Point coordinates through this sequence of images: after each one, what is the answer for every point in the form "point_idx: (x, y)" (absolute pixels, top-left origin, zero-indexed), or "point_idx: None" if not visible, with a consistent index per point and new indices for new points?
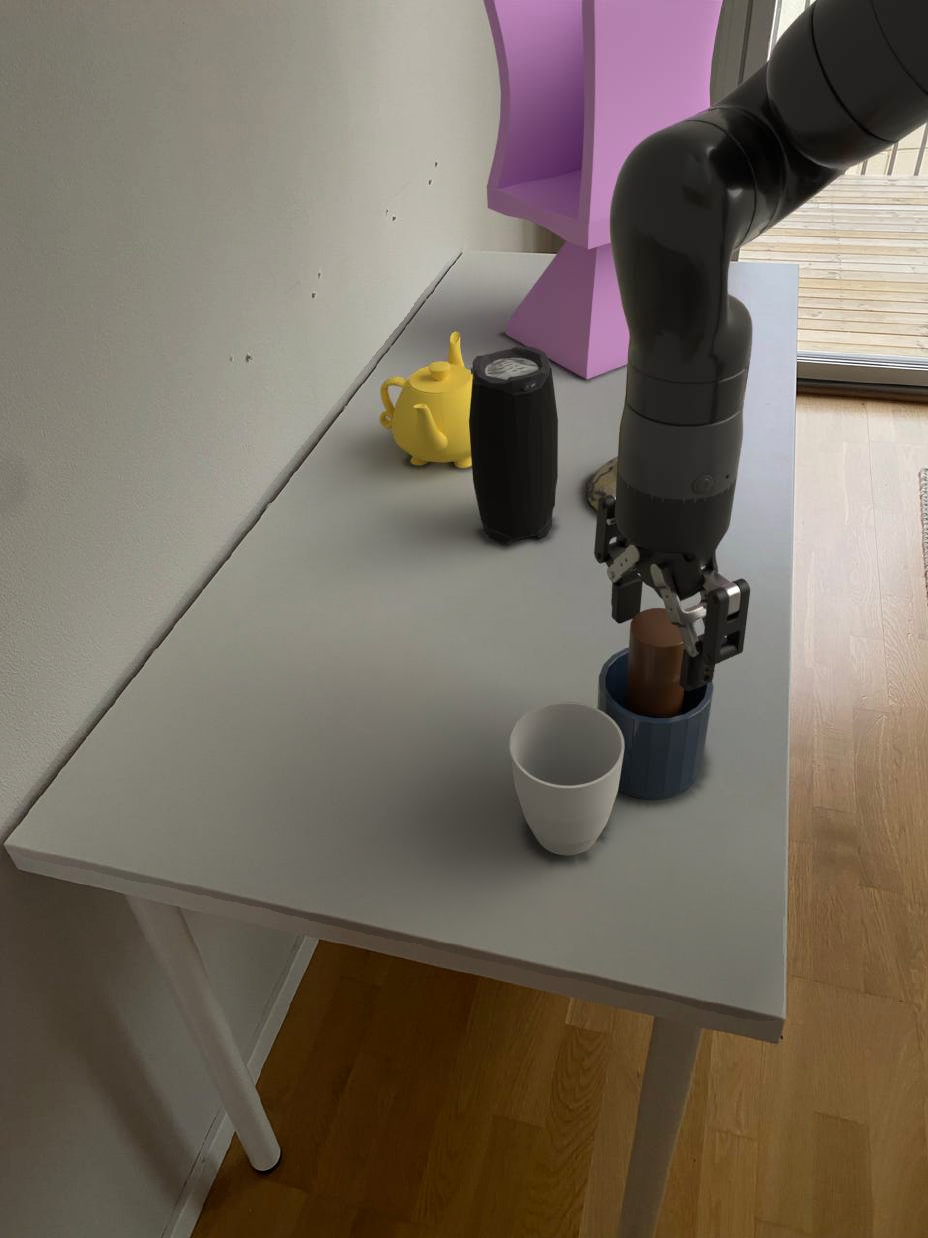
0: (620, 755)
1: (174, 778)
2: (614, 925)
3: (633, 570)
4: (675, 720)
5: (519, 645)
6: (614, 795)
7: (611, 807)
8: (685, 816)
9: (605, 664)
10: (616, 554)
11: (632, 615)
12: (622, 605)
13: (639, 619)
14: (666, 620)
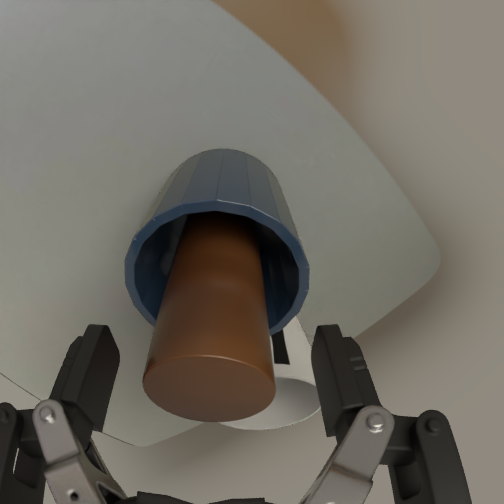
0: (314, 385)
1: (122, 420)
2: (347, 314)
3: (113, 486)
4: (300, 305)
5: (31, 239)
6: (309, 347)
7: (303, 332)
8: (308, 218)
9: (149, 321)
10: (41, 451)
11: (108, 339)
12: (108, 385)
13: (169, 405)
14: (195, 384)
